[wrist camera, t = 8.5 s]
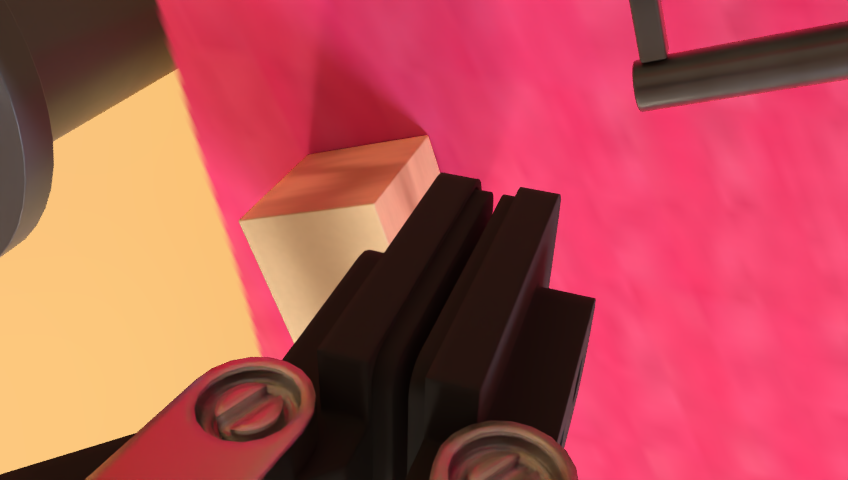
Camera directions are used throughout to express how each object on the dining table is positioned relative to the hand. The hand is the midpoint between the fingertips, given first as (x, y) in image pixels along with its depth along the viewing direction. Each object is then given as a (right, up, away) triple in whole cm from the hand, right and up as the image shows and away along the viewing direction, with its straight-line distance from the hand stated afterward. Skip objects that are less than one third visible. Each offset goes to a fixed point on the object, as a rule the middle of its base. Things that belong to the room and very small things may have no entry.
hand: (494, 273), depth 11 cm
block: (-2, +2, +18) cm, 18 cm away
